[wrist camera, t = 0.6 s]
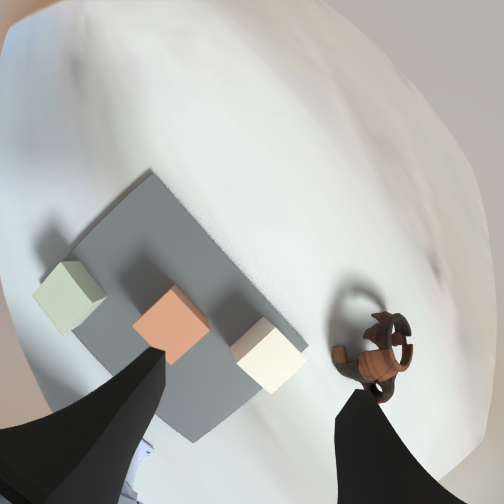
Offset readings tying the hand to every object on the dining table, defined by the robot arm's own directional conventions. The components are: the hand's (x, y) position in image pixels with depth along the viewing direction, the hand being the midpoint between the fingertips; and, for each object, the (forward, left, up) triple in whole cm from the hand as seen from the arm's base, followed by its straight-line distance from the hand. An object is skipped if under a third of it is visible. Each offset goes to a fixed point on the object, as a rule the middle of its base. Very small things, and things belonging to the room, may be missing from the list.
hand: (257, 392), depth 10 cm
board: (-5, +2, -22) cm, 22 cm away
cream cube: (0, -7, -21) cm, 22 cm away
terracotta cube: (-4, +2, -21) cm, 21 cm away
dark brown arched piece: (+9, -19, -22) cm, 30 cm away
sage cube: (-11, +11, -21) cm, 26 cm away
